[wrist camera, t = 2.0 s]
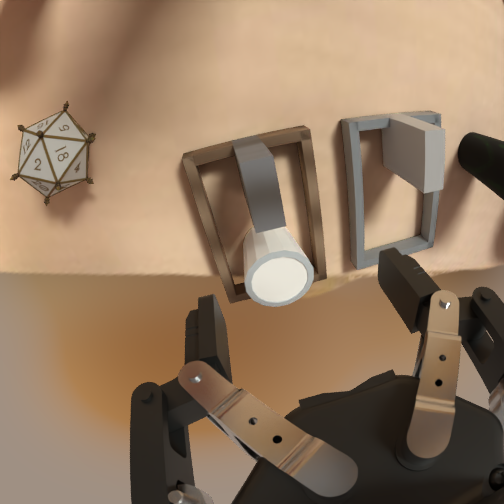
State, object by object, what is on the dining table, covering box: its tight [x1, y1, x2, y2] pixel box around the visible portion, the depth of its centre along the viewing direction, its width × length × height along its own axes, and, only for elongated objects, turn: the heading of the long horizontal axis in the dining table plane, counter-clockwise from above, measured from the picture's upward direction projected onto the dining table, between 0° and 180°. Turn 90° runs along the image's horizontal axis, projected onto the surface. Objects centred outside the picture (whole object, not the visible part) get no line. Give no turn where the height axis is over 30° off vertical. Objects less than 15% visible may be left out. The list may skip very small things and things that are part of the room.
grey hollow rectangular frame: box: [341, 111, 445, 270], centre depth 30 cm, size 18×12×8 cm, turn 12°
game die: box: [10, 101, 96, 206], centre depth 22 cm, size 9×8×10 cm
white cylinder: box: [243, 227, 314, 307], centre depth 32 cm, size 7×7×7 cm
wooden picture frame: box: [182, 125, 327, 303], centre depth 30 cm, size 18×12×8 cm, turn 12°
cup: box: [458, 132, 504, 200], centre depth 26 cm, size 8×8×12 cm
